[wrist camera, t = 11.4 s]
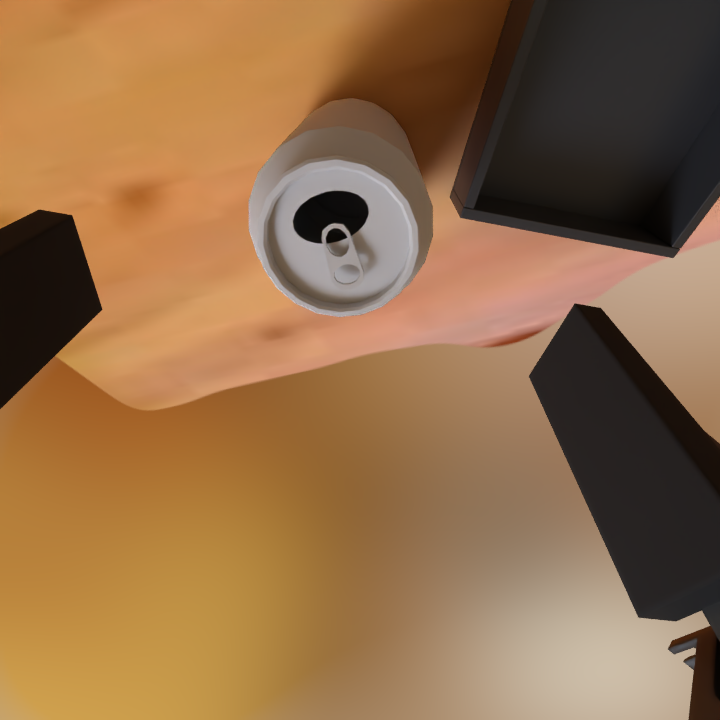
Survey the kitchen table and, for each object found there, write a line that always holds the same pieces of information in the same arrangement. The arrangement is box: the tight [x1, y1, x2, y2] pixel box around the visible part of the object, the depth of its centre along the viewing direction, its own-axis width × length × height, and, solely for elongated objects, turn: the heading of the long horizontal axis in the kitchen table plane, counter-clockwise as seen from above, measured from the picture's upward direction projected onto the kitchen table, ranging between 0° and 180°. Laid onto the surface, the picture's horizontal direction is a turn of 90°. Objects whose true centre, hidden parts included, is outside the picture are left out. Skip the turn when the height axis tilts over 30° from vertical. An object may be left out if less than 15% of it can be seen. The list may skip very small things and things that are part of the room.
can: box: [249, 98, 433, 317], centre depth 19 cm, size 8×8×12 cm
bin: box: [450, 0, 720, 258], centre depth 19 cm, size 13×13×4 cm
